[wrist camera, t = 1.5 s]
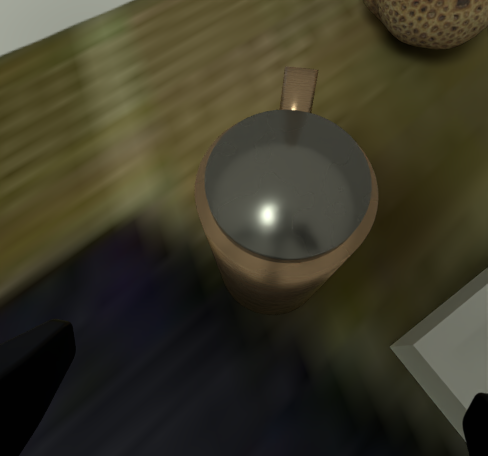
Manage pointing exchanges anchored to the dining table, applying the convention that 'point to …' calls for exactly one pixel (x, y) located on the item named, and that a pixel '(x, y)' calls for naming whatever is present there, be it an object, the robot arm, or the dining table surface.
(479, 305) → the tray
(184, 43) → the dining table surface
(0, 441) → the robot arm
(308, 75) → the spout can
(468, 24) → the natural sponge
